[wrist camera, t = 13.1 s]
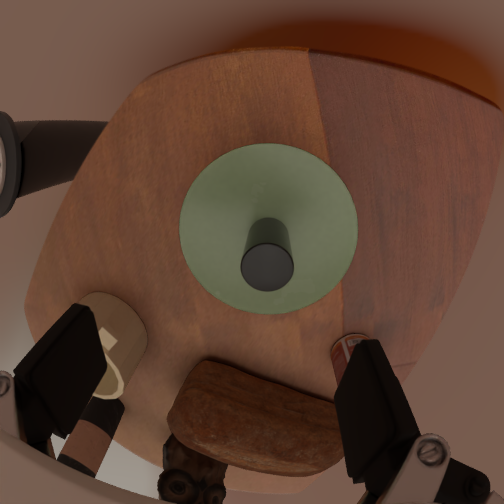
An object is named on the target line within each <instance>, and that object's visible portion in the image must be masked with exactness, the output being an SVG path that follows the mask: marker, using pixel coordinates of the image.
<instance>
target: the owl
mask: <svg viewBox="0 0 504 504" xmlns="http://www.w3.org/2000/svg"><path fill="white" fill-rule="evenodd" d="M227 466H228V464H226V463H223V462H221V461H218V460H216V459H213V458H211V457H209V456H206V455H204V454H202V453H199V452H197V451H195V450H193V449H191V448H188V447H186V446H185V445H184V444H182V443H181V442H180V441H178V440H177V438H176V437H175V436H174V434H173V433H172V434H171V435H170V436H169V438H168V440H167V441H166V443H165V444H164V445H163V469H164V471H163V472H162V473H161V474H160V475H159V480H158V485H157V486H158V489H157V490H158V492H159V500H162V501H166V502H171V503H175V504H222V502H223V500H224V498H225V496H226V488H225V486H224V482H223V479H224V478H225V472H226V469H227Z"/></svg>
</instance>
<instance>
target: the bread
mask: <svg viewBox="0 0 504 504" xmlns="http://www.w3.org/2000/svg"><path fill="white" fill-rule="evenodd" d="M167 422H168V425H169V427H170V430H171V431H172V433H173V434H174V436H175V437H176V438H177V440H178V441H180V442H181V443H182V444H184V445H185V446H186V447H188V448H191V449H193V450H195V451H197V452H199V453H202V454H204V455H206V456H209V457H211V458H213V459H216V460H218V461H221V462H223V463H226V464H229V465H232V466H236V467H239V468H243V469H246V470H251V471H256V472H261V473H267V474H273V475H280V476H289V477H305V476H310V475H314V474H317V473H320V472H322V471H324V470H326V469H328V468H330V467H331V466H333V465H335V464H336V463H338V462H339V461H340V460H341V459H342V458H343V457H344V450H343V445H342V439H341V434H340V428H339V423H338V418H337V413H336V408H335V404H333V403H330V402H327V401H324V400H320V399H316V398H313V397H310V396H307V395H304V394H302V393H299V392H297V391H294V390H292V389H290V388H287V387H285V386H282V385H279V384H275V383H272V382H268V381H265V380H262V379H259V378H256V377H254V376H251V375H249V374H246V373H244V372H242V371H239V370H237V369H235V368H233V367H231V366H227V365H224V364H221V363H216V362H211V361H203V362H201V363H199V364H198V365H196V366H195V368H194V369H193V370H192V371H191V372H190V374H189V375H188V376H187V378H186V380H185V382H184V384H183V386H182V387H181V389H180V391H179V393H178V395H177V397H176V399H175V402H174V404H173V406H172V408H171V410H170V411H169V413H168V416H167Z"/></svg>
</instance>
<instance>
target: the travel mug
mask: <svg viewBox="0 0 504 504" xmlns="http://www.w3.org/2000/svg"><path fill="white" fill-rule="evenodd" d="M123 413H124V405H123V404H122V402H121V401H120V400H119V399H117V398H116V399H102V398H99V397H96V396H93V397H92V399H91V400H90V402H89V403H88V405H87V406H86V408H85V410H84V411H83V413H82V415H81V417H80V419H79V420H78V422H77V424H76V426H75V428H74V430H73V432H72V433H71V434H70V435H69V437H68V439H67V441H66V443H65V445H64V447H63V449H62V450H61V452H60V454H59V456H58V458H57V460H56V461H58V462H60V463H62V464H64V465H66V466H68V467H70V468H72V469H75V470H77V471H79V472H81V473H83V474H86V475H88V476H90V477H93V478H95V476H96V474H97V472H98V469H99V467H100V465H101V463H102V461H103V458H104V456H105V454H106V452H107V450H108V448H109V445H110V443H111V441H112V439H113V436H114V434H115V432H116V429H117V427H118V424H119V422H120V420H121V417H122V415H123Z"/></svg>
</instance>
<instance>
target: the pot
mask: <svg viewBox="0 0 504 504" xmlns="http://www.w3.org/2000/svg"><path fill="white" fill-rule="evenodd" d="M78 304H82V305H86V306H89V307H90V309H91V311H93V313H94V316H95V320H96V324H97V328H98V332H99V336H100V340H101V343H102V347H103V351H104V354H105V357H106V361H107V371H106V373H105V374H104V376H103V378H102V379H101V381H100V383H99V385H98V386H97V388H96V390H95V392H94V393H93V395H92V396H96V397H99V398H102V399H116V398H117V397H119V396H120V395H122V394H123V392H124V390H125V388H126V386H127V385H128V383H129V381H130V379H131V377H132V375H133V373H134V371H135V369H136V368H137V366H138V364H139V362H140V360H141V358H142V356H143V355H144V353H145V349H146V347H147V343H148V337H147V332H146V329H145V326H144V324H143V322H142V321H141V319H140V318H139V316H138V315H137V314H136V312H135V311H134V310H133V309H132V308H131V307H130V306H129V305H127V304H126V303H125V302H124V301H122V300H121V299H119V298H117V297H115V296H113V295H111V294H108V293H103V292H93V293H90V294H88V295H86V296H85V297H83V298H82V299H81V300H80V301H79V302H78Z"/></svg>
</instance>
